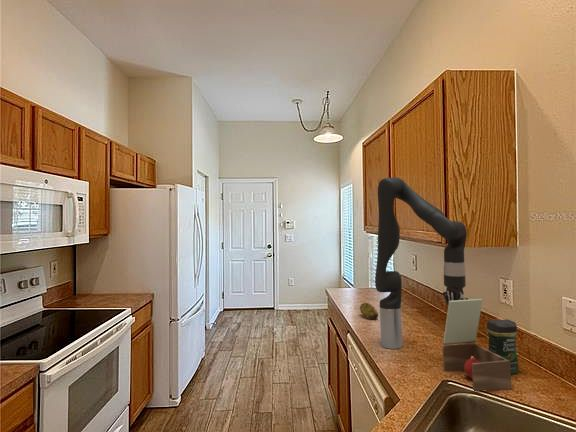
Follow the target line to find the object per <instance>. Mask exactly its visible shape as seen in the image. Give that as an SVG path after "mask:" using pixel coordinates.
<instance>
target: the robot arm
mask: <svg viewBox="0 0 576 432" xmlns="http://www.w3.org/2000/svg"><path fill="white" fill-rule="evenodd" d="M395 199H397V200H400V201H402V202H404V203H405V204H407V205H408V206H409V207H410V208H411V210H412V211H413V212H414V213H415V215H416V216H417V217H418V218H419V219H421V220H422V221H423V222H424V223H426V224H428V225H429V226H431V228H432V229H433V230H434V231H435V232H436V233H437V234H438V235H439V236H441V238H443V239H445V240H447V245H446V246H445V247H444V250H443V285H444V287H446V290H445V291H443V292H442V296H443V297H444V300H445V302H446V305H447V306H448V305H449V301H454V300H469V298H468V297H465V296H464V295H465V294H464V293H465V292H464V288H466V265H465V264H466V263H465V247H466V242H467V237H468V236H467V235H468V233H467V232H468V231H467V227H466V225H465V224H464V223H463V222H461V221H458V220H454V221H452V220H451V219H449V218H448V217H446V216H445V213H444V212H443V211H442V210H440V209H439V208H438V207H436V206H435V205H433V204H432V203H431V202H428V201H427V200H426V199H424V198H423V197H422V196H421V195H419V193H417V192H416V191H414V189H413V188H411V187H410V186H409V185H408V184H407V183H406V182H405V181H404V180H403V179H401V178H399V177H397V176H395V177H385V178H382V179H380V181H379V182H378V185H377V203H378V230H377V257H376V267H375V276H374V277H375V279H374V282H375V283H374V287H375V288H376V289H375V290H376V291H377V292H378V293H389V294H388V295H387V296H385V297H383V298H382V299H380V300H379V321H380V322H379V323H380V324H379V325H380V326H379V327H380V328H379V329H380V346H381V347H382V348H385V349H389V350H395V349H396V350H397V349H400V348H403V332H402V331H403V329H402V326H403V325H402V306H401V304H402V287H403V286H402V285H403V284H402V282H403V281H402V276H401V274H400V272H398V271H395V270H390V271H388V270H387V269H388V268H387V267H388V264H389V261H390V260H391V258H392V257H393V255H394V254H395V252H396V251H397V249H398V247H399V245H400V240H401V239H400V235H401V230H400V226H399V222H398V220H397V218H396V215H395V210H394V206H395Z"/></svg>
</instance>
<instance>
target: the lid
mask: <svg viewBox="0 0 576 432" xmlns="http://www.w3.org/2000/svg"><path fill="white" fill-rule="evenodd" d="M482 306H483V299H482V298H472V299H471V298H470V299H468V300H454V301H449V305H447V313H446V321H445V325H444V327H445V328H444V334H443V342H442V346H447V345H459V344H471V343H476V342H477V335H478V329H479V323H480V319H481V318H480V316H481V312H482Z"/></svg>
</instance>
